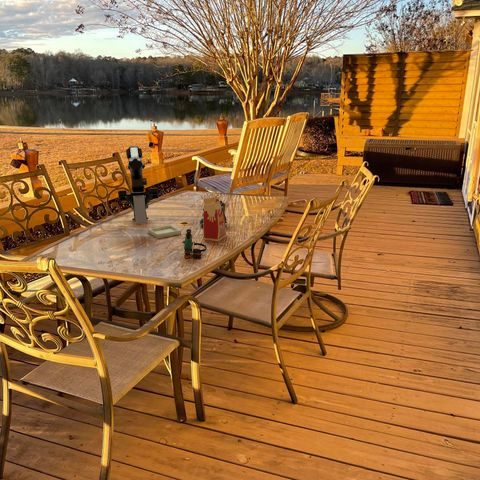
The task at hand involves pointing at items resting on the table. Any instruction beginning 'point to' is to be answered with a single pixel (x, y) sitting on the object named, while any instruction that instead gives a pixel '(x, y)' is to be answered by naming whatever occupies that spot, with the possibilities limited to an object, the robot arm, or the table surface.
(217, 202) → the milk carton
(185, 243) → the binoculars
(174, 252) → the butter knife
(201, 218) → the lucky cat figurine
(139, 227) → the table surface
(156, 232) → the tray
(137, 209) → the post
